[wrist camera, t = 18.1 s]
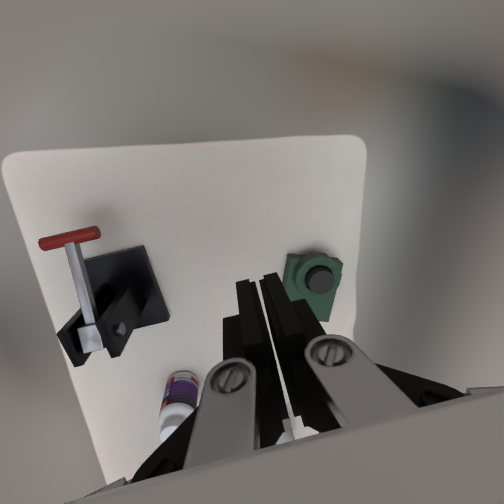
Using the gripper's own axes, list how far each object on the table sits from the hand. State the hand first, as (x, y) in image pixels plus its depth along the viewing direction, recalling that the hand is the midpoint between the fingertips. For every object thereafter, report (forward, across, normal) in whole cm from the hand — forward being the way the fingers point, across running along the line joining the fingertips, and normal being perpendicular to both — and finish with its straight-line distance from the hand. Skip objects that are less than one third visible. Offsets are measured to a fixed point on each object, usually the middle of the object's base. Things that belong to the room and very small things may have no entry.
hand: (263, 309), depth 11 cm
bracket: (+29, +18, +9) cm, 36 cm away
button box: (+29, -8, +16) cm, 34 cm away
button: (+26, -9, +13) cm, 30 cm away
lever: (+21, +18, +5) cm, 28 cm away
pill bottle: (+29, +16, +28) cm, 44 cm away
